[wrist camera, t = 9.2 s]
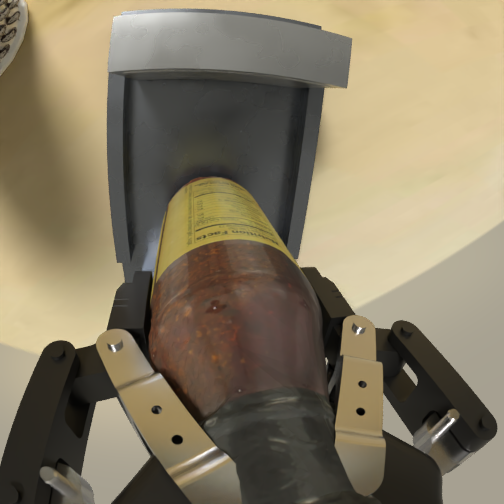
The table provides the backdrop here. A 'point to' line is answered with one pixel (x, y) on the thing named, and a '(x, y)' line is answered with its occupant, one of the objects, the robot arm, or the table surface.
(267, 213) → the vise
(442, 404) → the robot arm
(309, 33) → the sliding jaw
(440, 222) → the table surface
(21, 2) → the decorative candle
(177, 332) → the sauce bottle
